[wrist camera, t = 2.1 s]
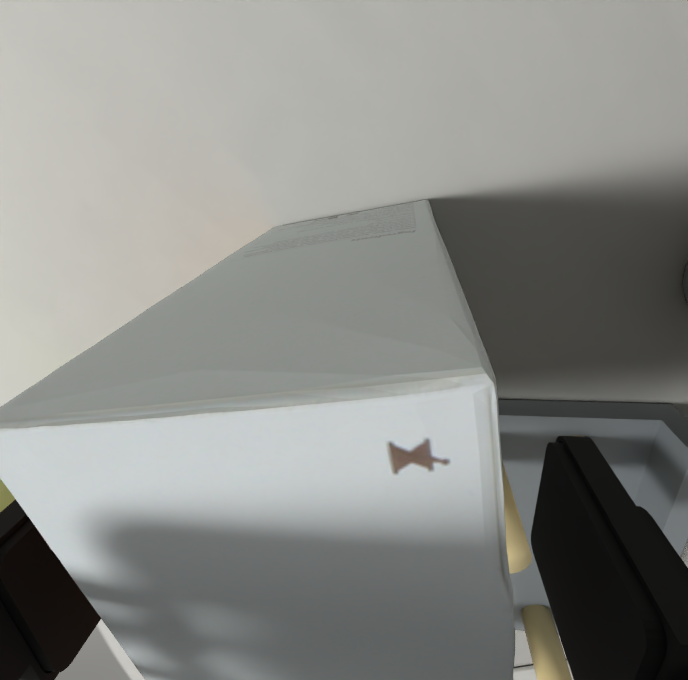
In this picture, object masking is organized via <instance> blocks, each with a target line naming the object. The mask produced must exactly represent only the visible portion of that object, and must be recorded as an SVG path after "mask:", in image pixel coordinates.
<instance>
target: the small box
mask: <svg viewBox="0 0 688 680" xmlns="http://www.w3.org/2000/svg"><path fill="white" fill-rule="evenodd" d="M0 479H1V480H2V481H3V483H4V484H5V485H6V487H7V488H8V489H9V491H10V492H11V493H12V495H13V496H14V498H15V499H16V500H17V502H18V503H19V504H20V506H21V507H22V509H23V510H24V511H25V513H26V514H27V516H28V517H29V518H30V520H31V521H32V523H33V524H34V525H35V527H36V528H37V530H38V531H39V533H40V534H41V535H42V537H43V538H44V540H45V541H46V543H47V544H48V546H49V547H50V549H51V550H52V551H53V552H54V553H55V555H56V556H57V557H58V559H59V560H60V562H61V563H62V564H63V566H64V567H65V569H66V570H67V571H68V573H69V574H70V576H71V577H72V579H73V580H74V581H75V583H76V584H77V586H78V587H79V588H80V590H81V591H82V592H83V594H84V595H85V597H86V598H87V599H88V601H89V602H90V603H91V605H92V606H93V608H94V609H95V610H96V612H97V613H98V615H99V616H100V617H101V619H102V620H103V622H104V623H105V624H106V626H107V627H108V628H109V630H110V631H111V632H112V634H113V635H114V637H115V638H116V640H117V641H118V642H119V644H120V645H121V647H122V648H123V649H124V651H125V652H126V654H127V655H128V656H129V658H130V659H131V661H132V662H133V663H134V665H135V666H136V668H137V669H138V670H139V672H140V673H141V674H142V676H143V677H144V679H145V680H513V668H514V657H515V627H514V615H513V605H514V596H513V587H512V582H511V578H510V572H509V563H508V555H507V546H506V525H505V512H504V491H503V472H502V454H501V441H500V427H499V409H498V393H497V385H496V377H495V375H494V372H493V369H492V366H491V364H490V361H489V358H488V355H487V353H486V350H485V348H484V345H483V343H482V340H481V338H480V336H479V333H478V330H477V327H476V324H475V321H474V319H473V316H472V313H471V311H470V308H469V306H468V303H467V300H466V298H465V295H464V293H463V290H462V288H461V285H460V282H459V280H458V277H457V275H456V272H455V269H454V266H453V264H452V261H451V259H450V256H449V254H448V251H447V249H446V246H445V244H444V241H443V239H442V237H441V235H440V232H439V230H438V227H437V225H436V222H435V220H434V217H433V213H432V209H431V206H430V203H429V201H428V200H421V201H416V202H411V203H405V204H400V205H394V206H389V207H383V208H378V209H372V210H367V211H361V212H356V213H350V214H344V215H339V216H333V217H328V218H322V219H316V220H310V221H305V222H299V223H294V224H289V225H283V226H277V227H274V228H272V229H270V230H269V231H267V232H266V233H264V234H262V235H261V236H259V237H258V238H256V239H255V240H253V241H252V242H250V243H248V244H247V245H245V246H243V247H242V248H240V249H239V250H237V251H236V252H234V253H233V254H231V255H230V256H228V257H226V258H225V259H223V260H222V261H220V262H219V263H218V264H216V265H215V266H213V267H212V268H210V269H208V270H207V271H205V272H204V273H203V274H201V275H200V276H198V277H197V278H195V279H194V280H192V281H191V282H189V283H188V284H186V285H185V286H183V287H181V288H179V289H178V290H176V291H175V292H173V293H172V294H171V295H169V296H168V297H166V298H164V299H163V300H161V301H159V302H158V303H156V304H155V305H153V306H152V307H150V308H149V309H147V310H146V311H144V312H143V313H141V314H140V315H138V316H137V317H136V318H134V319H133V320H131V321H130V322H128V323H127V324H125V325H124V326H122V327H121V328H119V329H118V330H116V331H115V332H113V333H112V334H110V335H109V336H107V337H106V338H104V339H103V340H101V341H100V342H98V343H97V344H95V345H94V346H92V347H91V348H89V349H87V350H86V351H84V352H83V353H81V354H80V355H78V356H76V357H75V358H73V359H72V360H70V361H69V362H67V363H66V364H64V365H63V366H61V367H60V368H58V369H57V370H55V371H54V372H52V373H51V374H49V375H48V376H46V377H45V378H43V379H42V380H40V381H39V382H38V383H36V384H35V385H33V386H31V387H30V388H28V389H27V390H25V391H24V392H22V393H21V394H19V395H18V396H16V397H15V398H13V399H12V400H10V401H9V402H7V403H6V404H4V405H3V406H1V407H0Z"/></svg>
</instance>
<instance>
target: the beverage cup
mask: <svg viewBox="0 0 688 680" xmlns="http://www.w3.org/2000/svg"><path fill="white" fill-rule="evenodd" d="M682 285H683V290H684V295H685V300H686V302H687V303H688V263H687V265H686V267H685V272H684V278H683V283H682Z"/></svg>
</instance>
